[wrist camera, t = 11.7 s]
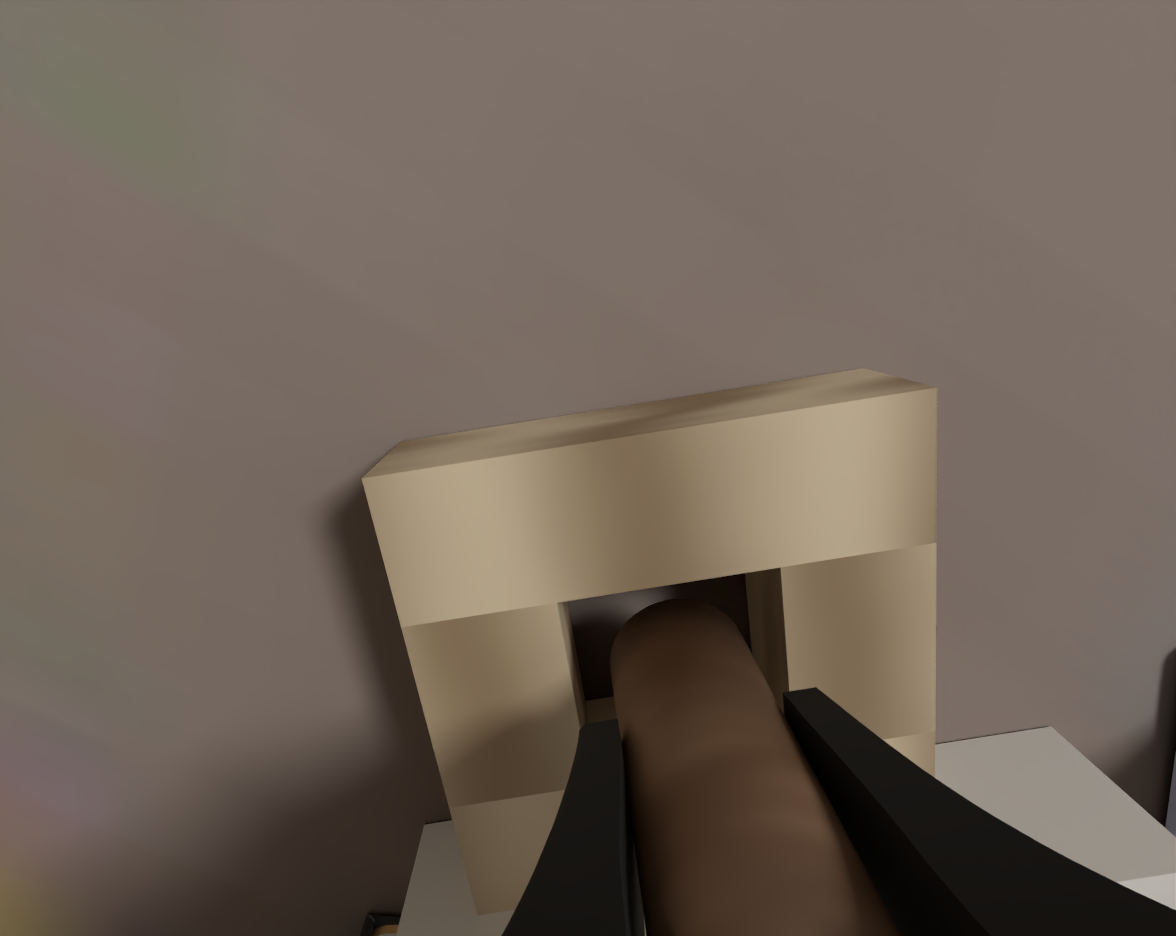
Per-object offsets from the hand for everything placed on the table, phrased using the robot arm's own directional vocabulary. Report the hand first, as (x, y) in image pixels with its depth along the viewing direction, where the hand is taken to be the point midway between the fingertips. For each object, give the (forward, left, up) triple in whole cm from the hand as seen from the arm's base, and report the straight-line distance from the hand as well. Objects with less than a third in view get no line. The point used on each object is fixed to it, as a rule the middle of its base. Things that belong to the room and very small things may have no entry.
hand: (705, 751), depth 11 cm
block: (0, 0, -5) cm, 5 cm away
